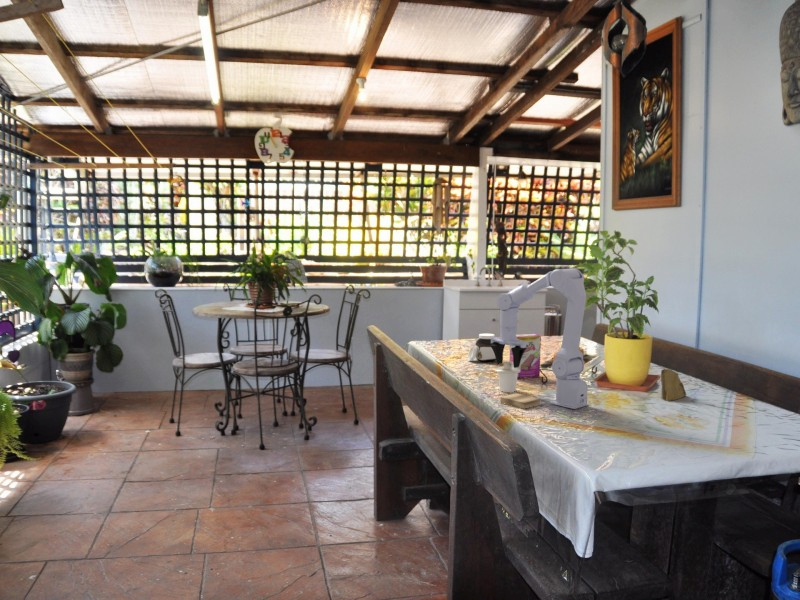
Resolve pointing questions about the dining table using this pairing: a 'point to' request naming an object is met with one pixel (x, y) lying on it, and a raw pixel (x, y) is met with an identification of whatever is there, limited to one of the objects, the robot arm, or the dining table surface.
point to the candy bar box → (529, 356)
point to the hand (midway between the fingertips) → (507, 365)
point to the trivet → (520, 400)
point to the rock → (671, 385)
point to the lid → (507, 369)
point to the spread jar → (482, 349)
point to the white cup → (507, 382)
